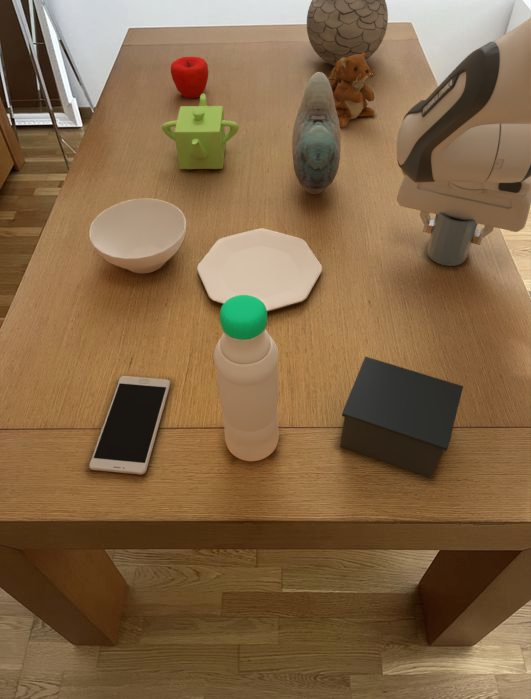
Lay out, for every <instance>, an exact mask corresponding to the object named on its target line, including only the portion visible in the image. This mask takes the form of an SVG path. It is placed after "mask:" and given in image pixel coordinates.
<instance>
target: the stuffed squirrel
mask: <svg viewBox="0 0 531 699" xmlns="http://www.w3.org/2000/svg"><path fill="white" fill-rule="evenodd" d="M365 57H366V53H364V52H363V53H362V54H356V55H352V56H349V57H348V58H345V57H343V58H341V59H340V60H339V61H337V63H336V65H335V66H333V67H332V68H333V69H331V71H330V76H329V78H328V80H329V82H330V85H331V88H332V92H333V98H334V102H335V108H336V111H337V115H338V119H339V124H340V129H343V128H347V126H348V125H349V123H350V121H351V120H354V119H357V118H358V117H373V116H374V115H375V110H374V108H371V107H368V102H369V103H371V102H373V101H374V100H375V92H374V91H373V89H371V88H370V86H369V85H367V83H365V81H367V80H368V79H369V78H370V75H371V78H373V77H374V76H376V75H375V72H373V70H371V69H370V66H369V65H368V63H367V60H365Z"/></svg>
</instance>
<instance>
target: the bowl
mask: <svg viewBox="0 0 531 699" xmlns="http://www.w3.org/2000/svg"><path fill="white" fill-rule="evenodd" d="M186 232H187V220H186V217H185V214H184V213H183V211H182V210H181V209H180V208H179V207H178V206H176V205H175V204H173V203H171V202H168V201H165V200H162V199H159V198H134V199H128V200H124V201H121V202H118V203H115V204H113V205H111V206H109V207H107V208H105V209H104V210H102V211H101V212H100V213H99V214H98V215H97V216H96V217H95V218H94V220H93V221H92V222H91V224H90V227H89V231H88V235H89V242H90V243H91V246H92V247H93V249H94V250H95V252H96V253H97V254H98V255H99V256H100V257H101V258H103V259H104V260H105V261H107V262H108V263H110V264H112V265H113V266H117V267H118V268H121V269H124V270H128V271H129V272H131V273H135V274H149V273H153V272H155V271H158V270H159V269H161V268H162V267H163V266H164V265H165V264H166V263H167V262H168V261H169V260H170V259H171V258H172V257H173V256H174V255H175V254H176V253H177V252H178V251H179V249H180V248H181V246H182V244H183V243H184V241H185V237H186Z"/></svg>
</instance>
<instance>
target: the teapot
mask: <svg viewBox="0 0 531 699" xmlns="http://www.w3.org/2000/svg"><path fill="white" fill-rule="evenodd" d="M172 127H175V128H174V131H173V130H172ZM226 127H228V128H230V129H229V130H228V132H227V133H226ZM239 128H240V126H239V123H237V122H236V121H233V120H228V119H225V114H224V106H223V105H208V104H207V94H206V93H204V92H203V94H201V96H199V105H188V106H187V105H181V106H179V110H178V115H177V119H176V120H170V121H166V122H164V123H163V124H162V125H161V130H162V132H163V133H164V134H165V135H166V136H167V137H168V138H169V139H171V140H173V141H174V142H175V147H176V148H175V149H176V154H177V160H178V167H179V170H219V169H221V170H222V169H223V168H224V163H225V162H224V161H225V153H226V152H225V151H226V143H227V142H228V141H230V140H231V139H232V138H233V137H234V136H235V135H236V134H237V133H238V131H239Z"/></svg>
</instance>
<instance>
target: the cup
mask: <svg viewBox="0 0 531 699" xmlns="http://www.w3.org/2000/svg"><path fill="white" fill-rule="evenodd" d="M433 220H434V224H433V229H432V233H431V234H430V237H429V240H428V244H427V249H426V253H427V256H428V258H430V259H431V260H432V261H433V262H435V263H436V264H438V265H441V266H446V267H455V266H459V265H461V264H463V263H464V262H465V261H466V260H467V257H468V254H469V251H470V248H471V246H472V243H471V242H472V239H473V236H474V233H475V230H477V227H478V225H479V224H478V223H475V220H469V221H464V220H460V219H455V218H451V217H447V216H445V215H444V214H443V213H439V214H435V218H434V219H433Z"/></svg>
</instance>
